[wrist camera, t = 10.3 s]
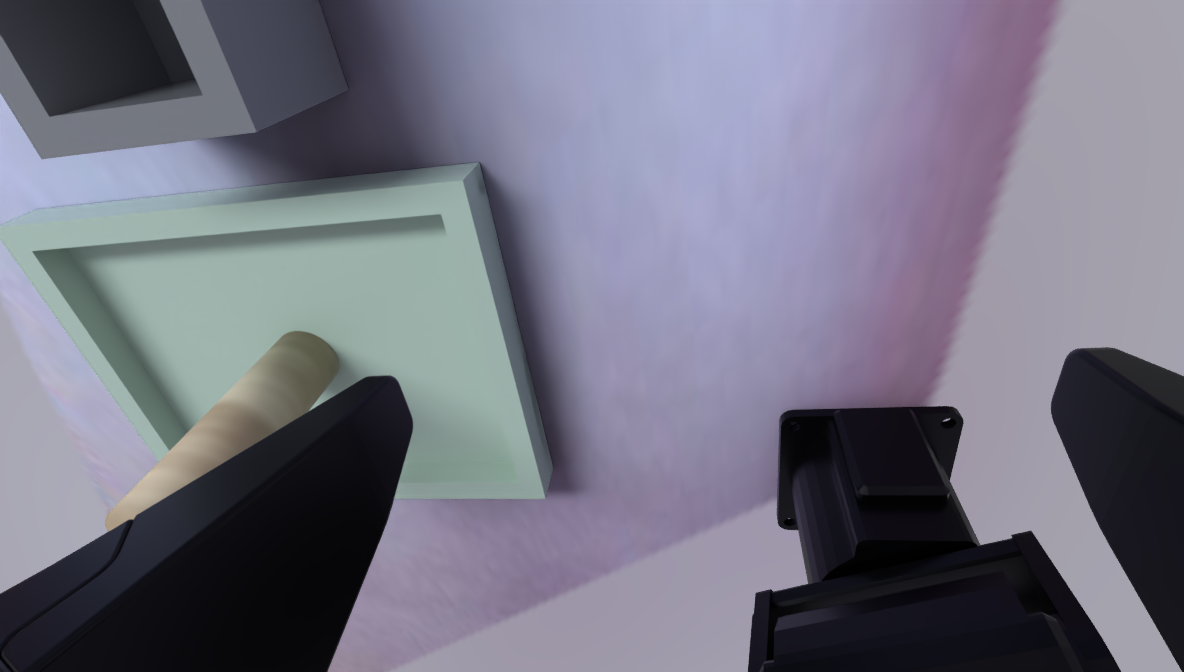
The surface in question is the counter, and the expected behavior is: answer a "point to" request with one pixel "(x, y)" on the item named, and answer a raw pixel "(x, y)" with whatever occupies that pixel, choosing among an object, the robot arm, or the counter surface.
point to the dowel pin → (239, 418)
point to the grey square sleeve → (160, 69)
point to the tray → (305, 309)
